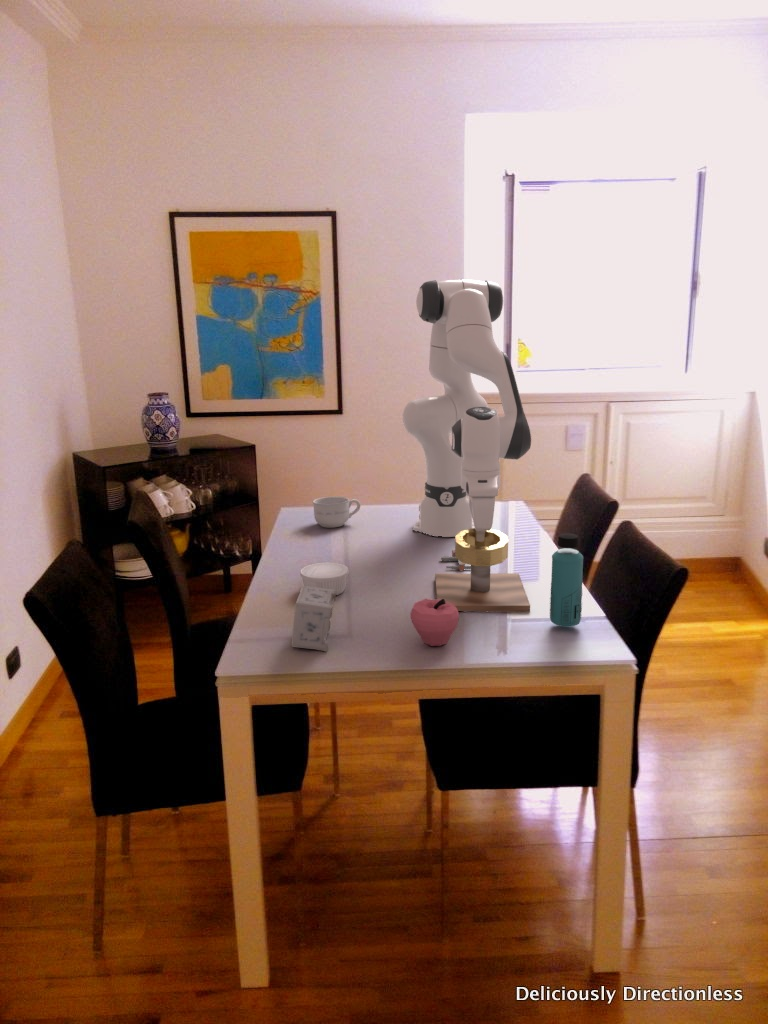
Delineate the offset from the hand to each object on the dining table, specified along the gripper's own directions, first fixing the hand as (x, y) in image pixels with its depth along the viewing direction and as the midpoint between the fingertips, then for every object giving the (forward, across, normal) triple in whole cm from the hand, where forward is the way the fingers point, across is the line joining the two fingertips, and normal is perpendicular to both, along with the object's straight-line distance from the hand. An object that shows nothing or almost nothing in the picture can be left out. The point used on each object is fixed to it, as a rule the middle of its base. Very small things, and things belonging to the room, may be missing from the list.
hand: (479, 538), depth 187 cm
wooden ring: (+2, +5, 0) cm, 5 cm away
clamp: (+13, -15, -3) cm, 20 cm away
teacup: (+12, -51, -38) cm, 65 cm away
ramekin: (+12, +2, -36) cm, 38 cm away
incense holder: (+12, +30, -35) cm, 48 cm away
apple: (+12, +31, -11) cm, 35 cm away
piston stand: (+12, +5, 0) cm, 13 cm away
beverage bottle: (+12, +23, +16) cm, 31 cm away
